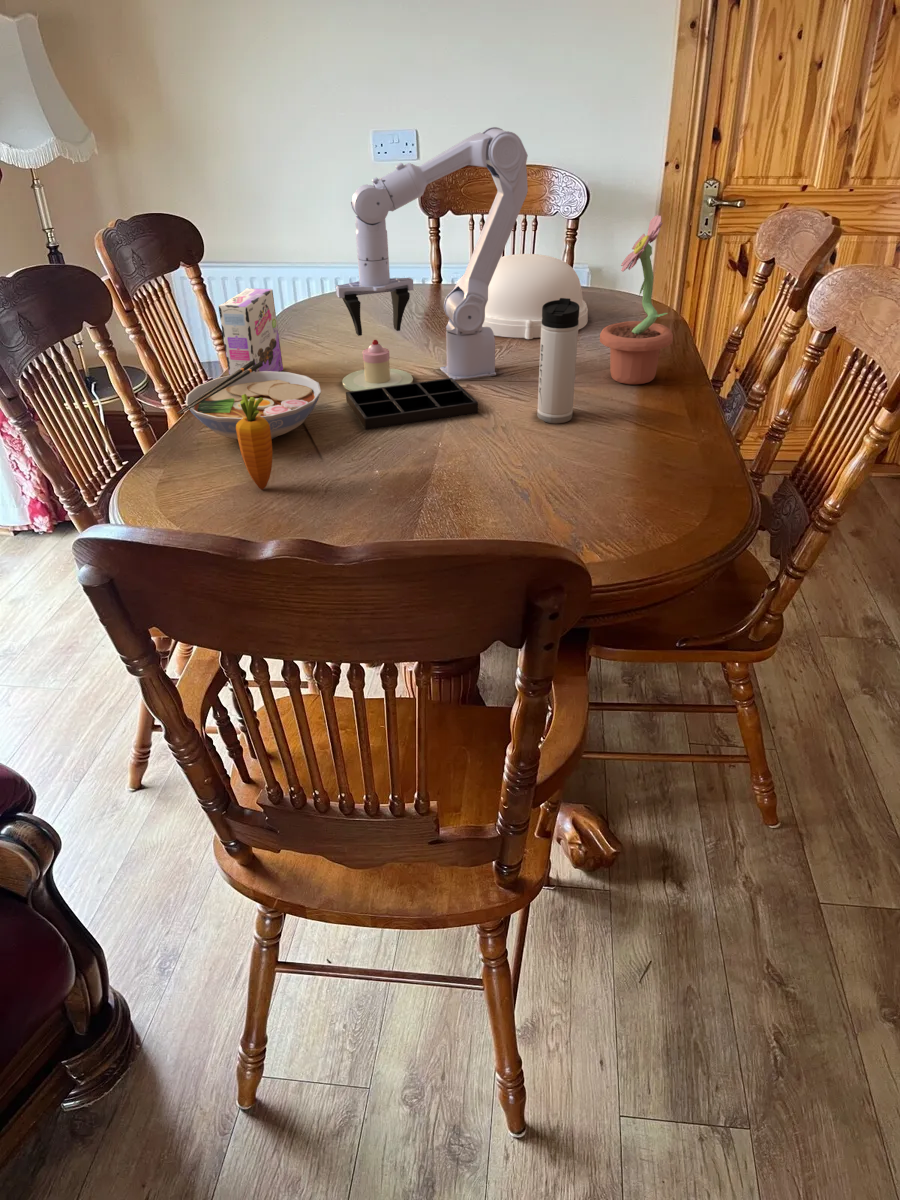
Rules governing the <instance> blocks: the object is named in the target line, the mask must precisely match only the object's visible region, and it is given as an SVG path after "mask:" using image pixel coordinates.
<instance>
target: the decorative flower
mask: <svg viewBox="0 0 900 1200" xmlns="http://www.w3.org/2000/svg"><path fill="white" fill-rule="evenodd" d="M662 226H663V221H662V215H659V214H657V215H654V216H653V217H652V218H651V219H650V220H649V225H648V230H647V233H646V234H645V233H642V234H641V236H640V237H639V238H638V239H637V240H636V241H635V243H634V244H633V246H632V247H631V250H633V251H632V252H630V253H629V254H627V256H626V257H625V259H624V260H623V261H622V263H621V265H620V266H621V269H620V270H621V272H625V271H626V270H627V269H628V270H629V271H630V270H631V269H632V268H634V267H635V266H636V265H637V263H638V260H640V263H641V267H642V268H641V269H642V274H643V281H642V284H641V286H640V290H639V296H640V295H641V294H642V299H641V305H642V308H643V310H644V312H645V314H646V315H647V316H646V317H645V318H644V319H643V320H629V321H622V322H616V323H612V324H609V325H606V326H604V327H603V328H602V330H601V332H600V334H599V342H600V344H602V345H603V346H604V347H607V348H609V349H610V350H609V352H610V353H609V354H610V355H609V356H610V357H609V358H610V359H609V360H610V361H609V363H610V364H609V365H610V368H609V369H610V371H609V372H610V376H611V378H612V379H613V380H614V381H615V382H617V383H620V384H624V385H644V384H647V383H650V382H652V381H653V380H654V379H655V378H656V374H657V369H658V364H659V357H660V353H661V349H665V348H668V347H669V346H670V345H671V344H673V343H674V342H673V341H674V334H673V332H672V329H670V328H669V327H668V326H666V325H663V324H661V323H658V322H657V323H656V321H657V319H658V318H659V317H663V316H665V315H668V314H669V313H668V312H663V313H658V311H657V309H656V308H655V307H654V305H653V303H652V297H653V289H654V288H653V287H654V270H653V265H652V260H651V256H652V255H653V247H652V245H650V244H651V243H653V242H654V241H655V240H657V238H658V236H659V234H660V232H661V227H662Z"/></svg>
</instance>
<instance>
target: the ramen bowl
mask: <svg viewBox="0 0 900 1200" xmlns="http://www.w3.org/2000/svg"><path fill="white" fill-rule="evenodd" d="M253 365H254V361H251V362H249V363H248V364H246V365H245V366H243V367H242V368H241V369H239V370H238V371H236V372H235V373H233V374H232V375H229V374H228V375H225V376H222V377H217V378H214V379H211V380H209V381H206V382H204V383H201V384H199V385H197V386H195V387H194V388H193V389H192V390H191V391H190V392H188V393H187V394H186V395H185V407H183V408H182V409H180V410H179V411H178V412H176V414H177V415H178V414H179V415H182V414H183V413H185V412H187V411H188V410H189V411H190V412H191V414H192V415H193V416H194V417H195V418H196V419H197V420H198V421H199V422H200V423H202V424H203V425H204V426H206V427H207V428H208V429H210V430H211V431H212V432H213V433H216V434H217V435H220V436H222V437H226V438H230V439H233V440H238V437H237V432H236V424H237V423H238V422H239V421H240V420H241V419H243V418H244V417H246V415H245V413H244V411H243V409H242V407H241V404H240V402H241V401H242V397H241V396H242V395H243V394H246V395H247V398H248V401H249V399H250V397H254V398H255V403H256V401H257V400H258V399H259V398H260V397H261V398H263V400H262V401H261V402H260V403H259V405H258V407H257V409H256V410H258V411H259V413H258V414H257V416H260V417H263V418H264V419H265V420H266V421H267V422H268V423H269V425H270V431H271V440H273V439H275V438H277V437H278V436H282V435H285V434H287V433H289V432H291V431H293V430H295V429H297V428H299V426H301V425H302V424H303V423H304V422H305V421H306V419H307V418H308V416H310V414H311V413H312V411H313V410H314V409H315V406H316V405H317V403H318V402H319V399H320V395H321V393H322V389H321V386H320V383H319V381H316V380H315V379H313V378H311V377H309V376H308V375H303V374H299V373H294V372H290V371H281V372H273V371H260V372H253V371H255V370H256V369H258V368H260V367H261V366H263V363H262V362H259V363H257V364H256V365H254V366H253ZM252 366H253V367H252ZM250 367H251V368H250ZM247 369H248V370H247ZM245 370H246V371H245ZM243 371H245V372H243ZM242 372H243V373H242ZM255 403H254V405H255Z"/></svg>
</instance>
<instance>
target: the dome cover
mask: <svg viewBox="0 0 900 1200" xmlns="http://www.w3.org/2000/svg"><path fill="white" fill-rule="evenodd" d="M582 290H583V289H582V285H581V281H580V277H579V275H578V274H577V272H576V270H575V269H574V268H573V267H572V266H571V265H570V264H569V263H567V262H566V261H564V260H562V259H560V258H557V257H554V256H550V255H545V254H536V253H517V254H510V255H504V256H501V257H500V260H499V262H498V265H497V267H496V269H495V272H494V274H493V276H492V279H491V281H490V284H489V286H488V301H487V303H486V306H485V320H484V323H483V325H482V327H490V328H491V329H492V331H493V333H494V337H501V338H502V337H504V338H514V339H515V338H516V339H517V338H518V339H526V340H533V339H538V338H540V339H541V327H542V326H541V323H542V307H543V305H544V304H545V303H547V302H550V301H554V300H559V299H560V298H568V299H570V301H573V302H576V303H577V304H578V305H579V318H578V320H579V322H578V323H579V326H578V331H579V330H581V329H583V328H584V327H586V325H587V324H588V320H589V319H588V318H589V315H588V311H589V309H588V306H587V305H588V304H587V302H586V301H585V300H584V298H583V291H582Z"/></svg>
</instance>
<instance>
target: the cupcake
mask: <svg viewBox="0 0 900 1200" xmlns="http://www.w3.org/2000/svg"><path fill="white" fill-rule="evenodd" d="M390 359H391V357H390V350H389V348H386V347H383V346H382V344H380V343H379V341H378V340H377V339H373V340H372V342H371V344H369V346H368V348H365V349H363V350H362V361H363V368H364V369H363V370H364V372H365V381H367V382H369V383H384V382H387V381H389V380H390V368H391V367H390Z"/></svg>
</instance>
